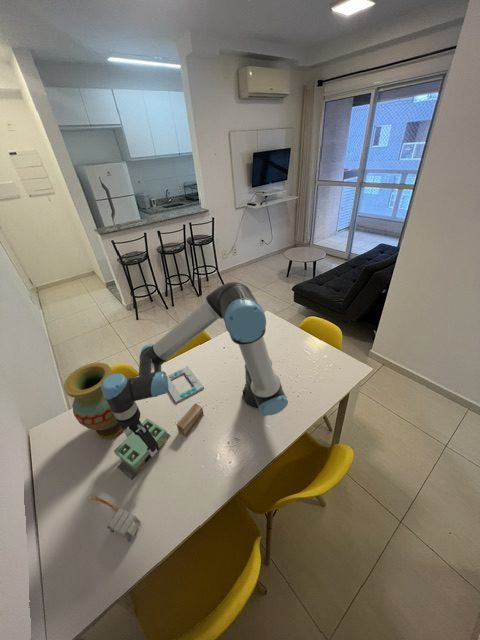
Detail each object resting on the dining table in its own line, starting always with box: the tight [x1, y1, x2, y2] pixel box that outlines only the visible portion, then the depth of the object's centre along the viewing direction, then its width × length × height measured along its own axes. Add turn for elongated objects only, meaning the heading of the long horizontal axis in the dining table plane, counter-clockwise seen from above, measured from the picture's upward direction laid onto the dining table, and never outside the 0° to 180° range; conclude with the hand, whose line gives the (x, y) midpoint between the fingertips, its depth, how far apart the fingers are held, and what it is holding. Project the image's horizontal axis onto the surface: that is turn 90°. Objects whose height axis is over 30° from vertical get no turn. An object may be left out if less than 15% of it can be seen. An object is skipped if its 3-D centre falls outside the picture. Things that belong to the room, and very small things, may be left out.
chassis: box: [116, 425, 171, 481], centre depth 101 cm, size 9×20×8 cm, turn 148°
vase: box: [63, 361, 125, 440], centre depth 106 cm, size 20×20×30 cm
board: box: [113, 417, 168, 470], centre depth 99 cm, size 11×16×2 cm
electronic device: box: [167, 365, 205, 404], centre depth 131 cm, size 18×2×15 cm
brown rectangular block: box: [176, 403, 204, 438], centre depth 111 cm, size 4×12×6 cm, turn 148°
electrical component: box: [85, 494, 142, 544], centre depth 85 cm, size 24×6×5 cm, turn 68°
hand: (142, 445), depth 101 cm, fingers open, 12 cm apart
